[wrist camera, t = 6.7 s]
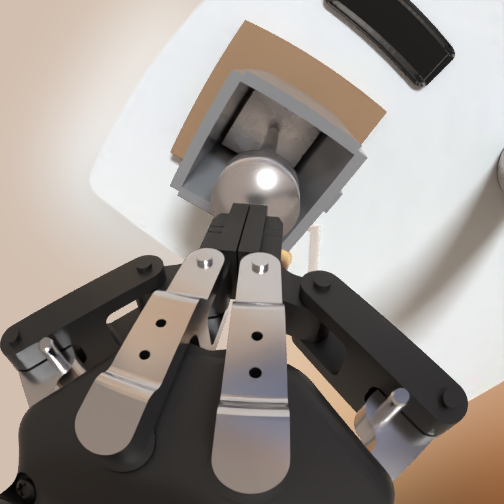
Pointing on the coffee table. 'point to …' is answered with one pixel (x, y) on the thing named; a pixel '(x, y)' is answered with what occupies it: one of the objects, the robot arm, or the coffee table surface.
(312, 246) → the dessert
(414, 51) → the phone
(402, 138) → the coffee table surface
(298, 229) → the grey square holder
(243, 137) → the plunger
